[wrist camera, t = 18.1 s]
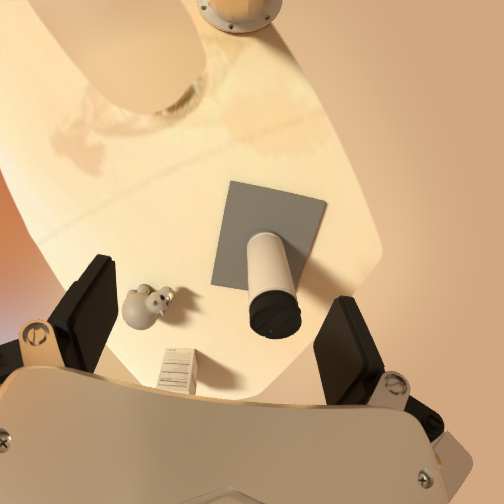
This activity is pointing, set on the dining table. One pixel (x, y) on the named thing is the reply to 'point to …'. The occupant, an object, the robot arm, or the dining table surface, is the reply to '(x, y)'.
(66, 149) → the dining table surface
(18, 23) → the dining table surface
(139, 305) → the chubby cartoon animal
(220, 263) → the mat
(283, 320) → the travel mug
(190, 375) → the supplement box
